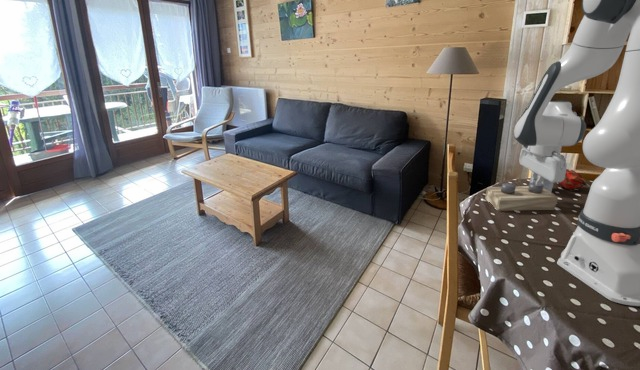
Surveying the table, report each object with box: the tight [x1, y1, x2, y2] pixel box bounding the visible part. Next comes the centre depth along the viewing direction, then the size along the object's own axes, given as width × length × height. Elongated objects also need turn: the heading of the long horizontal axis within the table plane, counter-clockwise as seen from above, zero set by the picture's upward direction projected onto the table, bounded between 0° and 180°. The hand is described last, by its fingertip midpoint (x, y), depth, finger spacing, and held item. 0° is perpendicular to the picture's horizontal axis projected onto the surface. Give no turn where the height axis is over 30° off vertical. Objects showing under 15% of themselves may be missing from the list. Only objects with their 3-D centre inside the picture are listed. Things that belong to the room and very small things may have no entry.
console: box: [484, 185, 559, 212], centre depth 118 cm, size 10×20×5 cm, turn 90°
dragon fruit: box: [557, 168, 588, 192], centre depth 130 cm, size 8×8×12 cm
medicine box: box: [529, 174, 555, 193], centre depth 129 cm, size 8×4×9 cm, turn 179°
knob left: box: [500, 182, 516, 194], centre depth 118 cm, size 4×4×7 cm
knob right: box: [528, 182, 544, 193], centre depth 117 cm, size 4×4×7 cm
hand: (536, 184), depth 116 cm, fingers closed, pressing on knob right
